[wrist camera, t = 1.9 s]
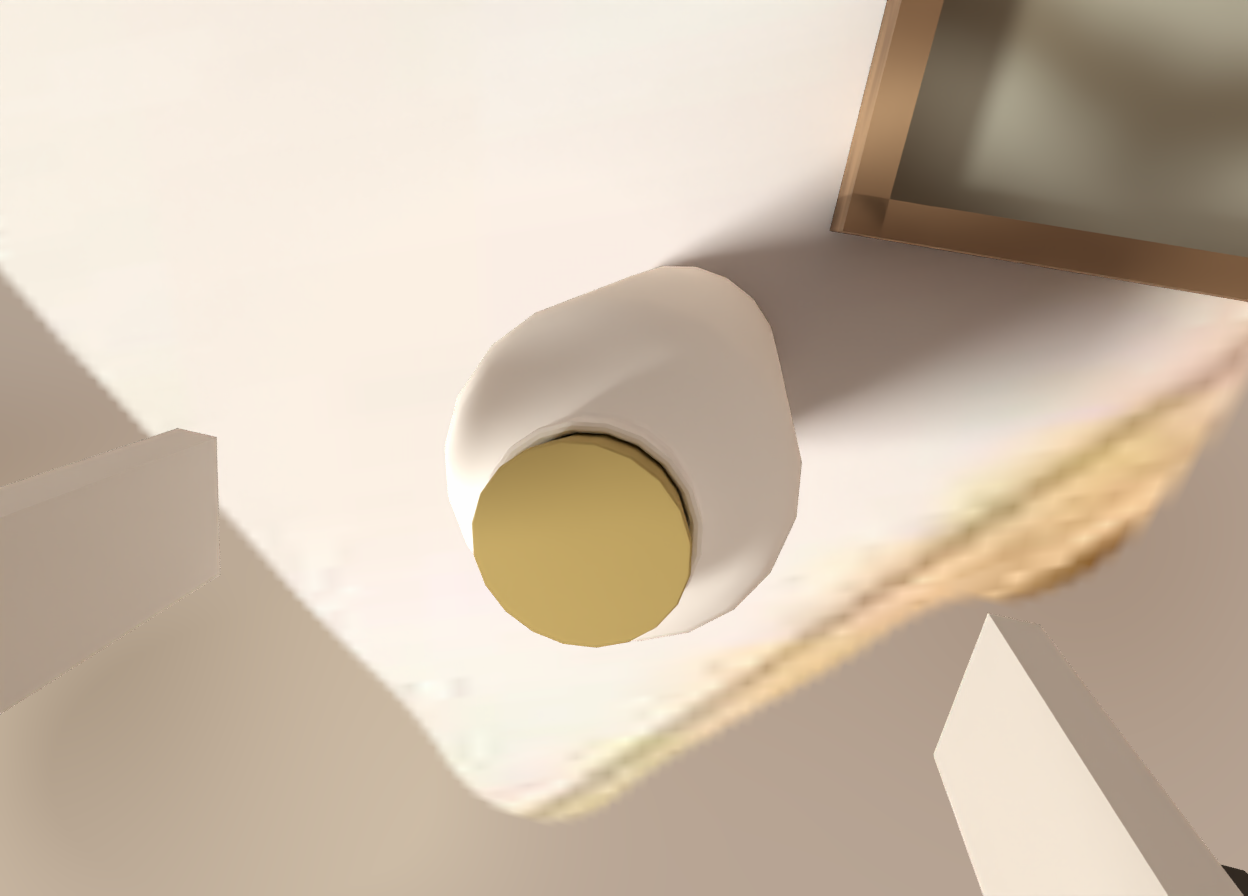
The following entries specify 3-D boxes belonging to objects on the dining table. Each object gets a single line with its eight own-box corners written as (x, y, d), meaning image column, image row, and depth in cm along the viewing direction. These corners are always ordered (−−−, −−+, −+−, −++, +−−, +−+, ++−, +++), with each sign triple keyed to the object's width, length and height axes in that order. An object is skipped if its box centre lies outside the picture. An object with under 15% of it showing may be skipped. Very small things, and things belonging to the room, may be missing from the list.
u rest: (936, -198, 22) (974, -285, 18) (1457, -147, 20) (1617, -233, 17) (829, 230, 27) (842, 230, 23) (1250, 302, 25) (1340, 315, 21)
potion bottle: (800, 284, 27) (880, 371, 10) (752, 475, 30) (755, 789, 13) (599, 246, 28) (373, 272, 11) (570, 435, 31) (355, 681, 14)
